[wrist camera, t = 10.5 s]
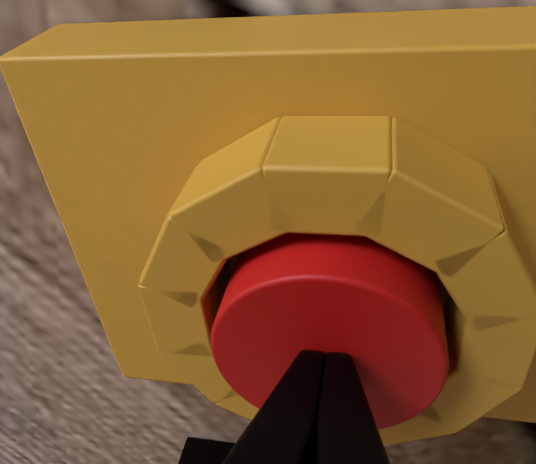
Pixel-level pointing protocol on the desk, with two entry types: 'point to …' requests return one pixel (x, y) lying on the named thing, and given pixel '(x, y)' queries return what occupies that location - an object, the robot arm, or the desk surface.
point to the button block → (296, 175)
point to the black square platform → (204, 451)
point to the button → (334, 320)
